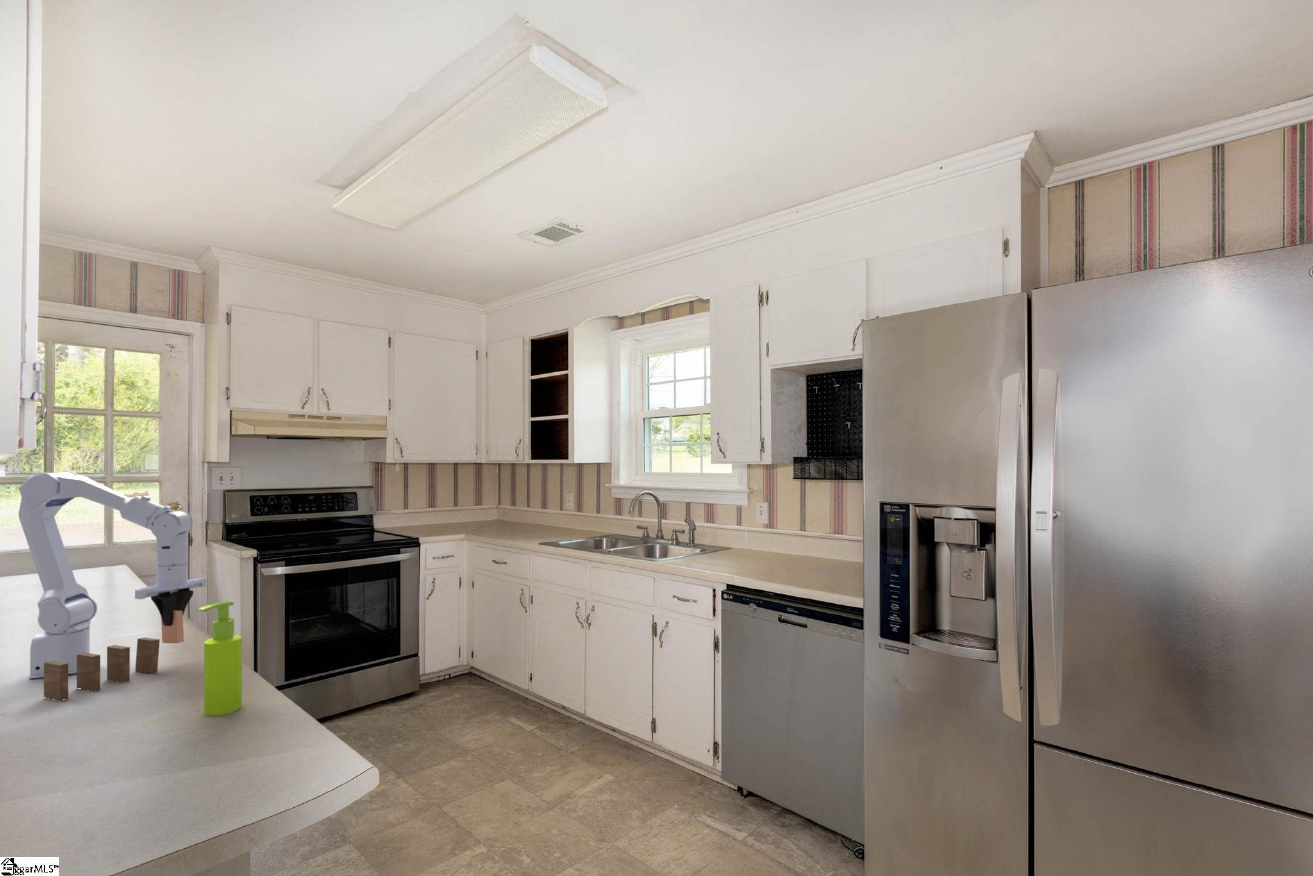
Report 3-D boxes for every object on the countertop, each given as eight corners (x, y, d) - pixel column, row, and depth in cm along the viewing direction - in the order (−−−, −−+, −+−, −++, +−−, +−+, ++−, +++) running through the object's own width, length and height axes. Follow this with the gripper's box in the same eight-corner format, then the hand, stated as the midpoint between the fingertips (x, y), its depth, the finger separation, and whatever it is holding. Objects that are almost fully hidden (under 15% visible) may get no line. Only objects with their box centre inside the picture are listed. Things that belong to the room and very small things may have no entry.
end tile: (59, 701, 128) (59, 665, 128) (43, 698, 130) (44, 662, 130) (68, 699, 129) (68, 663, 129) (52, 696, 131) (52, 660, 131)
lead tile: (177, 643, 149) (176, 612, 149) (162, 642, 150) (160, 612, 151) (183, 641, 150) (182, 610, 150) (168, 641, 152) (167, 610, 152)
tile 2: (150, 673, 143) (153, 640, 144) (135, 671, 145) (137, 638, 146) (157, 672, 145) (159, 639, 145) (141, 669, 146) (144, 637, 147)
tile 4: (92, 691, 133) (92, 657, 133) (76, 688, 135) (76, 654, 135) (100, 689, 134) (100, 654, 135) (84, 686, 136) (84, 652, 136)
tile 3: (122, 682, 138) (122, 649, 138) (106, 680, 140) (107, 646, 140) (129, 680, 140) (129, 647, 140) (114, 677, 141) (114, 645, 141)
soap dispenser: (191, 714, 121) (191, 605, 121) (230, 701, 127) (230, 597, 127) (209, 720, 118) (209, 608, 119) (248, 706, 124) (248, 600, 125)
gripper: (150, 571, 142) (150, 634, 142) (215, 560, 156) (215, 617, 156) (128, 569, 145) (128, 631, 145) (194, 558, 158) (194, 615, 158)
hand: (172, 624), depth 150 cm, fingers closed on lead tile, 1 cm apart
